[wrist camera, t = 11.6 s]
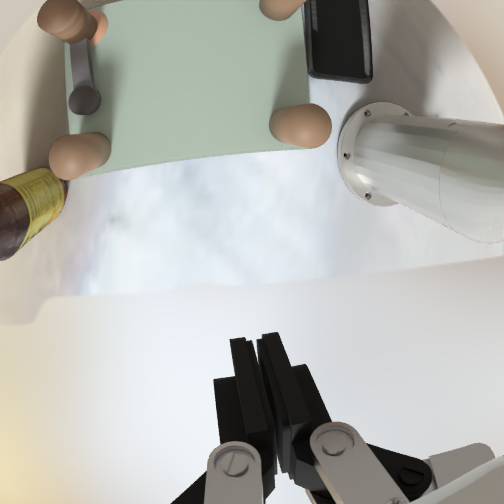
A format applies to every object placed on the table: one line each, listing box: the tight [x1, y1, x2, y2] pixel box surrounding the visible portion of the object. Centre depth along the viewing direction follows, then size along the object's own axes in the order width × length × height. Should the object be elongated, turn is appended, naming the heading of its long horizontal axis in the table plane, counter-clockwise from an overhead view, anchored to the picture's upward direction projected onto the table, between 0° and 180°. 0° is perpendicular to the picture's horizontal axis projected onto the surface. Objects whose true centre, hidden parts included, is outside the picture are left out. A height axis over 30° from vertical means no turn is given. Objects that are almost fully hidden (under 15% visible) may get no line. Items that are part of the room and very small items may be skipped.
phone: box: [304, 0, 373, 84], centre depth 28 cm, size 8×1×15 cm
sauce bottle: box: [0, 168, 67, 261], centre depth 21 cm, size 7×6×20 cm
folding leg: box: [37, 0, 101, 115], centre depth 20 cm, size 11×4×7 cm, turn 7°
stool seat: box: [49, 0, 332, 180], centre depth 24 cm, size 24×18×9 cm
